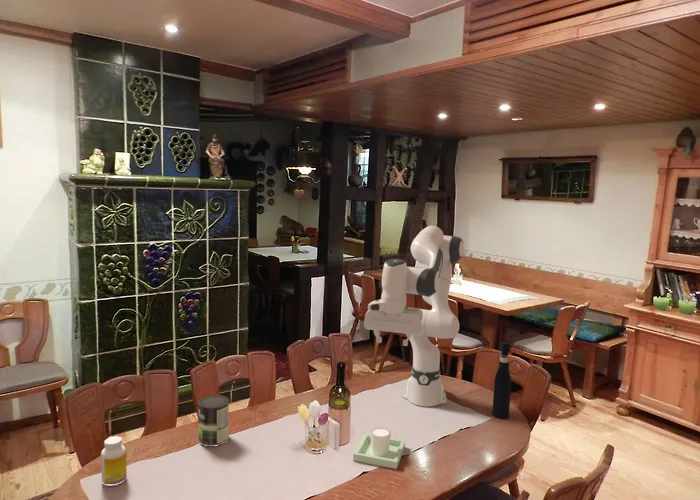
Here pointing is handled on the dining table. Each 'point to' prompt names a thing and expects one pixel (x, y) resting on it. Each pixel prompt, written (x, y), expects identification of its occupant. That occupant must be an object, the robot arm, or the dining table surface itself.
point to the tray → (390, 460)
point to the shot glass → (380, 441)
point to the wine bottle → (502, 384)
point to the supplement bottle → (113, 461)
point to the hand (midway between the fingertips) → (392, 343)
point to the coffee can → (213, 420)
